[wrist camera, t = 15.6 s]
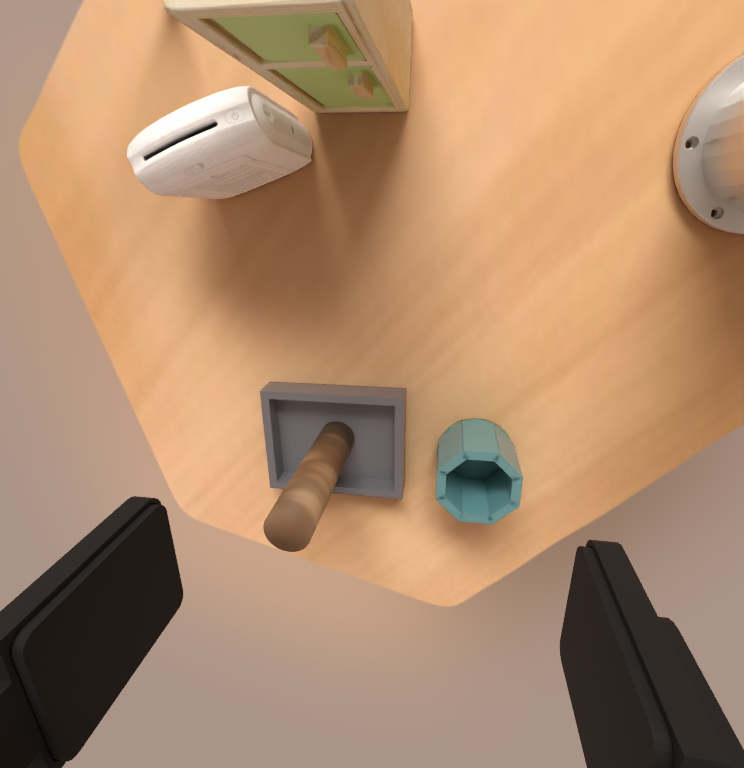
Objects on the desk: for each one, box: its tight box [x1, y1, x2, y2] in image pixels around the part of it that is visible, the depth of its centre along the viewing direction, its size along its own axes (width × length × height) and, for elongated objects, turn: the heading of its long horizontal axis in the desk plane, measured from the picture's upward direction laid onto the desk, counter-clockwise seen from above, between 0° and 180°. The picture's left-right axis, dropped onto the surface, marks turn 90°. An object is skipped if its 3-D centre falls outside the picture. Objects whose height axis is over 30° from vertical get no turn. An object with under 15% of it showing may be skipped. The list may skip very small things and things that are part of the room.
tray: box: [260, 382, 406, 499], centre depth 46 cm, size 14×11×3 cm
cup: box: [436, 419, 523, 524], centre depth 42 cm, size 7×7×6 cm
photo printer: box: [127, 86, 312, 199], centre depth 33 cm, size 10×4×12 cm, turn 108°
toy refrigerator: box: [163, 0, 413, 113], centre depth 26 cm, size 8×7×21 cm
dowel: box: [263, 421, 355, 552], centre depth 40 cm, size 4×4×15 cm
